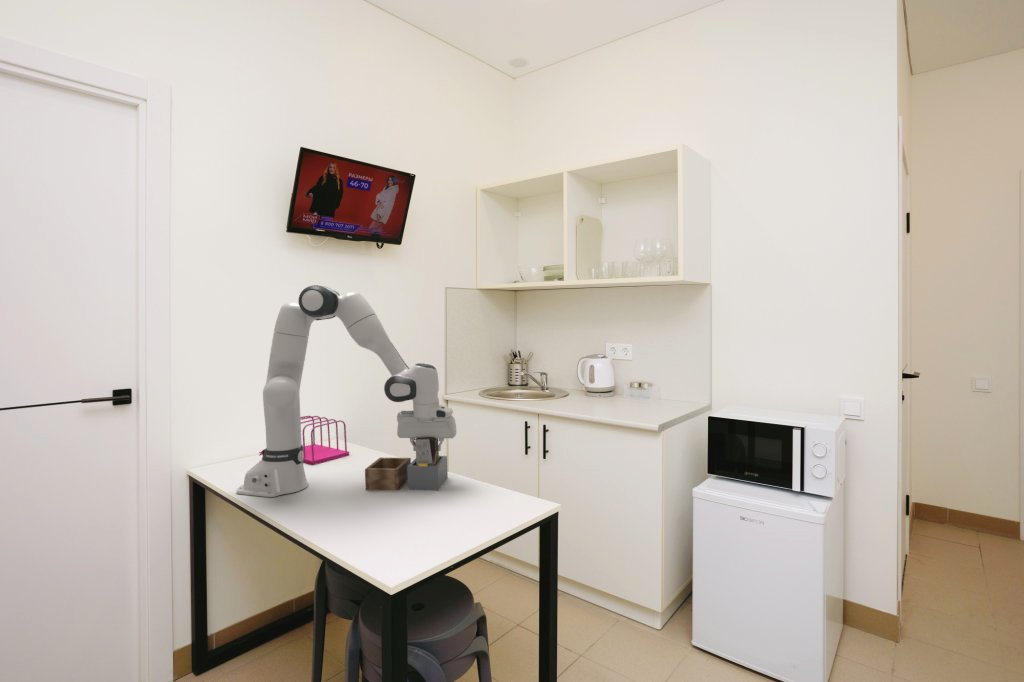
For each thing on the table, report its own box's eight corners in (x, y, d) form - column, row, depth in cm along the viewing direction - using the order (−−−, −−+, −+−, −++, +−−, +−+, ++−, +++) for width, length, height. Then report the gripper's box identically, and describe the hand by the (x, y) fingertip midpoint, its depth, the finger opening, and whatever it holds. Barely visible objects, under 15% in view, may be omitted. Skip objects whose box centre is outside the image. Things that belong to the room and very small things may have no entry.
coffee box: (435, 485, 178) (433, 438, 178) (416, 486, 179) (414, 439, 178) (440, 477, 188) (438, 432, 187) (422, 477, 188) (420, 433, 187)
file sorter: (312, 465, 208) (311, 426, 208) (278, 456, 223) (276, 419, 222) (349, 455, 222) (348, 418, 222) (314, 447, 237) (313, 412, 236)
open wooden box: (365, 489, 178) (364, 469, 178) (380, 476, 192) (380, 457, 192) (398, 490, 177) (397, 469, 176) (411, 476, 191) (410, 457, 191)
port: (408, 490, 177) (407, 464, 177) (419, 477, 190) (418, 453, 190) (438, 490, 176) (437, 464, 175) (447, 477, 189) (447, 453, 189)
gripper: (393, 412, 180) (395, 452, 180) (453, 412, 178) (454, 453, 178) (399, 408, 186) (400, 447, 187) (457, 409, 184) (457, 448, 185)
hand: (427, 450), depth 183 cm, fingers closed on coffee box, 6 cm apart
